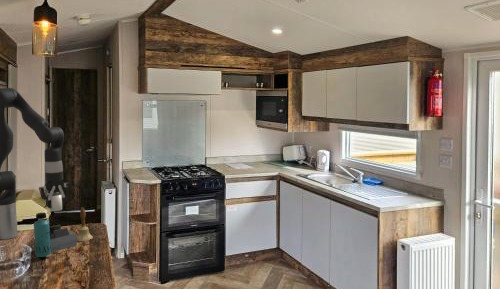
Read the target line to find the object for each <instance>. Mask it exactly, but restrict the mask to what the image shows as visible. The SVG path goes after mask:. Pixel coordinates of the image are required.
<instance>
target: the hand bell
mask: <svg viewBox="0 0 500 289" xmlns="http://www.w3.org/2000/svg"><path fill="white" fill-rule="evenodd" d="M79 216H80V220H81V221H80V222H81V227H80V228H79V229H78V233H77V235H76V239H77V242H87V241H90V239H91V240H92V239H94V237H93V235H91V233H90V230H89V227H88V226H86V210H85V208H84V207H83V206H82V207H81V208H80V211H79Z"/></svg>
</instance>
